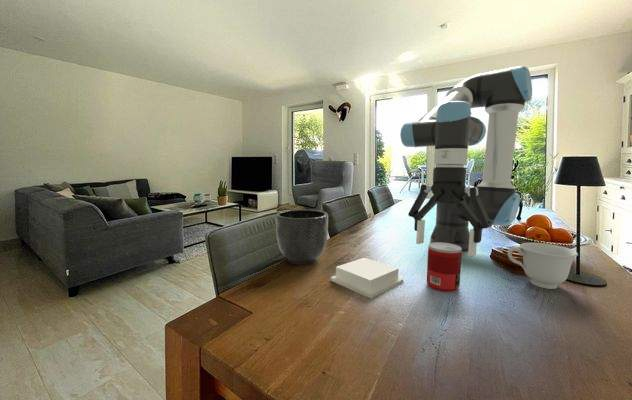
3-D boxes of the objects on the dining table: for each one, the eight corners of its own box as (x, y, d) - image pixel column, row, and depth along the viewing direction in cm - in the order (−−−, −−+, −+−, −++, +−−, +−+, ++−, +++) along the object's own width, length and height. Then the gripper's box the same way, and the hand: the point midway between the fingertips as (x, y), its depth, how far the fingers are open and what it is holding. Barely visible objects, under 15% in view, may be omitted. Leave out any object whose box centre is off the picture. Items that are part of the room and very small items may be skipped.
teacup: (499, 272, 85) (501, 239, 84) (559, 278, 81) (563, 244, 80) (513, 289, 74) (516, 252, 73) (584, 297, 69) (589, 258, 68)
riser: (363, 268, 89) (363, 256, 88) (403, 282, 78) (403, 268, 78) (330, 280, 80) (330, 266, 79) (370, 298, 69) (371, 282, 69)
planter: (338, 264, 92) (338, 215, 90) (289, 274, 84) (288, 221, 82) (312, 249, 107) (312, 207, 105) (268, 257, 99) (267, 211, 97)
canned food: (463, 294, 71) (466, 251, 70) (429, 291, 73) (431, 249, 72) (454, 281, 79) (457, 243, 77) (424, 279, 80) (426, 241, 79)
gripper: (398, 165, 79) (394, 241, 81) (501, 167, 60) (492, 264, 62) (412, 166, 84) (409, 237, 86) (512, 167, 65) (503, 257, 67)
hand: (444, 248), depth 74 cm, fingers open, 13 cm apart
